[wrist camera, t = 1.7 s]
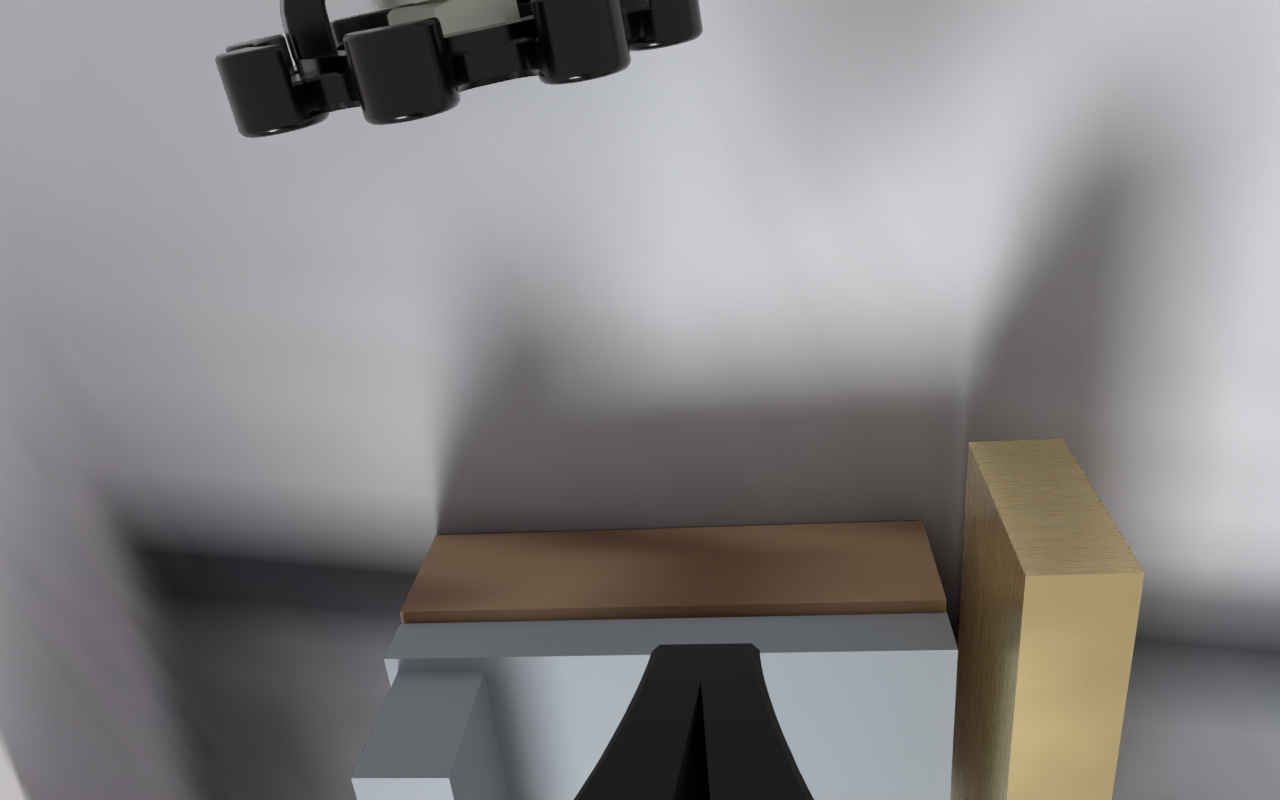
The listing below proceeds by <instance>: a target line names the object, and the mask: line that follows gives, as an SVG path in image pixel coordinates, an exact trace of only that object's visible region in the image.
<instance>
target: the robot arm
mask: <svg viewBox="0 0 1280 800" xmlns="http://www.w3.org/2000/svg"><path fill="white" fill-rule="evenodd" d="M574 800H814V798H813V796H812V795H811V793H810V791H809V789H808V787H807V785H806V783H805V781H804V779H803V777H802V775H801V773H800V771H799V769H798V766H797V764H796V762H795V760H794V757H793V755H792V753H791V750H790V748H789V746H788V744H787V741H786V739H785V737H784V735H783V732H782V730H781V727H780V725H779V722H778V719H777V717H776V714H775V711H774V708H773V705H772V702H771V699H770V697H769V693H768V690H767V687H766V683H765V679H764V675H763V671H762V665H761V659H760V650H759V649H758V648H756V647H755V646H754V645H753V644H752V643H732V644H665V645H659V646H657V647H656V648H655V649H654V650H653V651H652V653H651V655H650V658H649V661H648V664H647V667H646V669H645V671H644V674H643V676H642V679H641V681H640V683H639V685H638V688H637V690H636V692H635V694H634V696H633V698H632V700H631V702H630V704H629V706H628V708H627V710H626V712H625V714H624V716H623V718H622V720H621V722H620V724H619V725H618V727H617V729H616V731H615V733H614V734H613V736H612V738H611V740H610V741H609V743H608V745H607V747H606V749H605V750H604V752H603V754H602V756H601V758H600V759H599V761H598V763H597V764H596V766H595V767H594V769H593V771H592V772H591V774H590V775H589V777H588V778H587V780H586V781H585V783H584V785H583V786H582V788H581V789H580V791H579V792H578V794H577V795H576V797H575V798H574Z"/></svg>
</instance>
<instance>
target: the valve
mask: <svg viewBox="0 0 1280 800" xmlns="http://www.w3.org/2000/svg"><path fill="white" fill-rule="evenodd" d="M375 3H376V6H377V8H387V7H394V6H398V7H395V8H391V9H385V10H379V11H374V12H369V13H364V14H359V15H354V16H350V17H345V18H341V19H337V20H334V21H331V22H329V18H328V15H327V11H326V6H325V0H280V13H281V18H282V22H283V27H284V31H285V34H286V37H287V40H288V44H289V47H290V50H291V53H292V57H293V59H294V61H295V64H296V65H293V64H292V60H291V57H290V54H289V51H288V47H287V44H286V41H285V38H284V37H283V36H282V35H281V34H280V35H274V36H269V37H265V38H260V39H255V40H251V41H246V42H242V43H238V44H234V45H231V46H228V47H227V48H226V53H223V54H220V55H218V56H217V57H216V58H215V62H216V65H217V68H218V71H219V74H220V77H221V80H222V83H223V86H224V89H225V92H226V95H227V98H228V100H229V103H230V106H231V109H232V112H233V115H234V118H235V121H236V124H237V127H238V130H239V132H240V134H242V135H243V136H244V137H249V138H257V137H265V136H271V135H277V134H281V133H286V132H290V131H294V130H298V129H302V128H305V127H309V126H312V125H315V124H318V123H320V122H322V121H324V120H325V119H327V117H328V115H329V112H331V111H336V110H341V109H346V108H352V107H359V106H361V108H362V112H363V115H364V118H365V120H366V121H367V122H368V123H371V124H374V125H386V124H395V123H401V122H407V121H412V120H416V119H421V118H425V117H429V116H432V115H436V114H439V113H442V112H445V111H448V110H450V109H452V108H454V107H456V106H457V105H458V103H459V102H460V95H459V92H462V91H465V90H468V89H472V88H475V87H480V86H484V85H488V84H493V83H497V82H502V81H506V80H511V79H516V78H521V77H528V76H537V75H538V76H539V79H540V80H541V81H542V82H543V83H545V84H550V85H557V84H568V83H575V82H581V81H586V80H591V79H596V78H600V77H604V76H608V75H611V74H615V73H618V72H620V71H622V70H624V69H626V68H627V67H628V66H629V65H630V62H631V58H630V52H629V51H642V50H650V49H657V48H663V47H668V46H672V45H677V44H681V43H685V42H688V41H691V40H694V39H696V38H698V37H699V36H700V35H701V34H702V30H703V29H702V22H701V15H700V8H699V1H698V0H375ZM405 4H406V5H405ZM400 5H402V6H400Z"/></svg>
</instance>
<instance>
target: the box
mask: <svg viewBox="0 0 1280 800" xmlns="http://www.w3.org/2000/svg"><path fill="white" fill-rule="evenodd" d="M946 601H947V600H946V597H945V593H944V590H943V587H942V583H941V580H940V577H939V573H938V570H937V567H936V563H935V560H934V556H933V553H932V550H931V546H930V543H929V540H928V536H927V533H926V530H925V526H924V523H923V521H891V522H858V523H825V524H792V525H759V526H726V527H693V528H660V529H627V530H594V531H561V532H528V533H495V534H462V535H436V537H435V539H434V541H433V543H432V545H431V547H430V549H429V551H428V553H427V555H426V558H425V560H424V562H423V564H422V566H421V568H420V570H419V572H418V574H417V577H416V579H415V581H414V583H413V585H412V587H411V589H410V591H409V593H408V595H407V598H406V600H405V602H404V604H403V606H402V608H401V610H400V615H401V620H402V624H416V623H465V622H515V621H565V620H615V619H665V618H715V617H764V616H814V615H864V614H914V613H946Z"/></svg>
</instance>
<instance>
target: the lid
mask: <svg viewBox="0 0 1280 800" xmlns="http://www.w3.org/2000/svg"><path fill="white" fill-rule="evenodd" d="M732 643H752V644H753V645H754V646H755V647H756V648H758V649H759V650H760V659H761V665H762V671H763V675H764V679H765V683H766V687H767V690H768V693H769V697H770V699H771V702H772V705H773V708H774V711H775V714H776V717H777V719H778V722H779V725H780V727H781V730H782V732H783V735H784V737H785V739H786V741H787V744H788V746H789V748H790V750H791V753H792V755H793V757H794V760H795V762H796V764H797V766H798V769H799V771H800V773H801V775H802V777H803V779H804V781H805V783H806V785H807V787H808V789H809V791H810V793H811V795H812V796H813V798H814V800H950V792H951V773H952V755H953V736H954V717H955V698H956V679H957V660H958V648H957V645H956V641H955V638H954V634H953V631H952V628H951V624H950V621H949V617H948V614H947V613H914V614H864V615H814V616H764V617H715V618H665V619H615V620H565V621H515V622H465V623H416V624H400V625H399V627H398V630H397V632H396V634H395V636H394V638H393V640H392V642H391V645H390V647H389V649H388V651H387V653H386V655H385V657H384V662H385V666H386V670H387V674H388V678H389V682H390V686H391V688H390V691H389V693H388V695H387V697H386V700H385V702H384V704H383V707H382V709H381V711H380V713H379V716H378V718H377V720H376V722H375V725H374V727H373V729H372V732H371V734H370V736H369V738H368V741H367V743H366V745H365V747H364V750H363V752H362V754H361V756H360V759H359V761H358V763H357V766H356V768H355V770H354V772H353V775H352V777H351V780H352V784H353V787H354V791H355V794H356V798H357V800H574V798H575V797H576V795H577V794H578V792H579V791H580V789H581V788H582V786H583V785H584V783H585V781H586V780H587V778H588V777H589V775H590V774H591V772H592V771H593V769H594V767H595V766H596V764H597V763H598V761H599V759H600V758H601V756H602V754H603V752H604V750H605V749H606V747H607V745H608V743H609V741H610V740H611V738H612V736H613V734H614V733H615V731H616V729H617V727H618V725H619V724H620V722H621V720H622V718H623V716H624V714H625V712H626V710H627V708H628V706H629V704H630V702H631V700H632V698H633V696H634V694H635V692H636V690H637V688H638V685H639V683H640V681H641V679H642V676H643V674H644V671H645V669H646V667H647V664H648V661H649V658H650V655H651V653H652V651H653V650H654V649H655V648H656V647H657V646H659V645H665V644H732Z"/></svg>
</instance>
